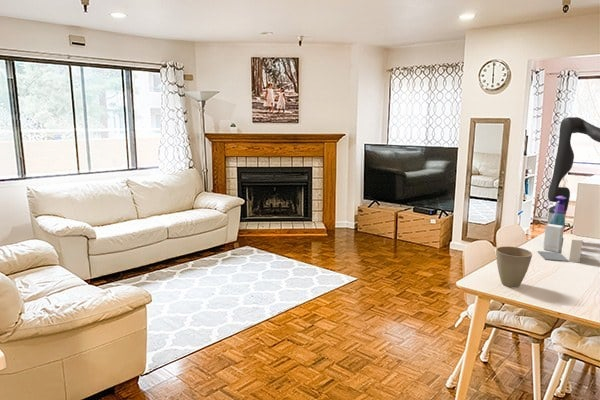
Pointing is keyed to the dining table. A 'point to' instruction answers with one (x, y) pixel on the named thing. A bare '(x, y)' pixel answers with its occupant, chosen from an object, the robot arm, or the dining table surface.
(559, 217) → the lantern
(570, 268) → the dining table surface
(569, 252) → the block
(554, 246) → the skincare box
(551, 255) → the mat
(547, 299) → the dining table surface
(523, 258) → the plant pot
